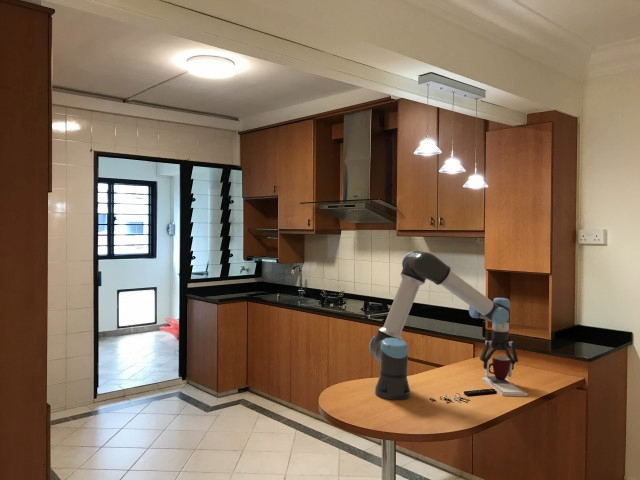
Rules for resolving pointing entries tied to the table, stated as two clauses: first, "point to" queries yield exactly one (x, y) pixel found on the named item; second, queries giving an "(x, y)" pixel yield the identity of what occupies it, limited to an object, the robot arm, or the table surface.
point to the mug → (500, 367)
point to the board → (504, 386)
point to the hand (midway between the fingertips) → (498, 376)
